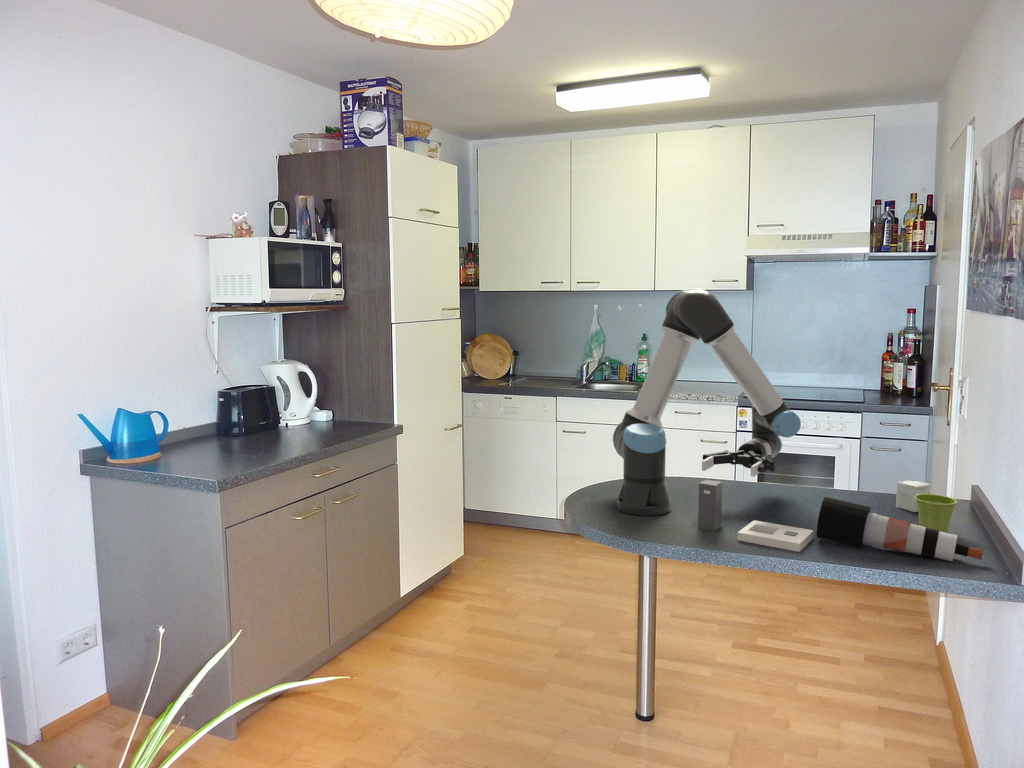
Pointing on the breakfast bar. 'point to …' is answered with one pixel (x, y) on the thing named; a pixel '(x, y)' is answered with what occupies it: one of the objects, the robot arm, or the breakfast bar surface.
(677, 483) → the breakfast bar surface
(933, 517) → the plant pot
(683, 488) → the breakfast bar surface
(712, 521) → the block
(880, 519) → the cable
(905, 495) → the skincare box
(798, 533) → the white base plate
